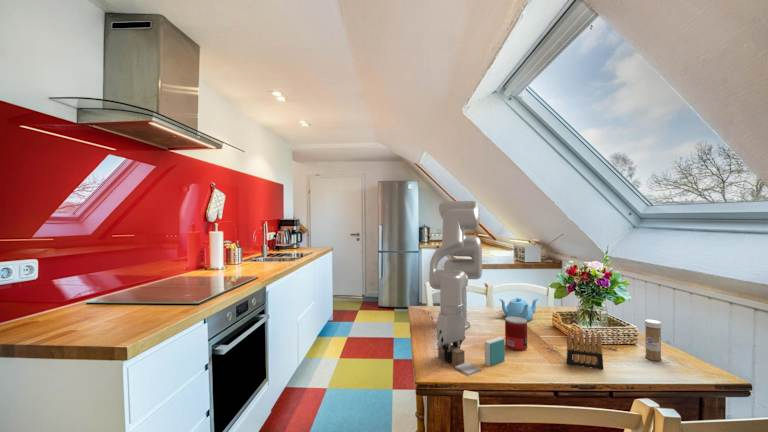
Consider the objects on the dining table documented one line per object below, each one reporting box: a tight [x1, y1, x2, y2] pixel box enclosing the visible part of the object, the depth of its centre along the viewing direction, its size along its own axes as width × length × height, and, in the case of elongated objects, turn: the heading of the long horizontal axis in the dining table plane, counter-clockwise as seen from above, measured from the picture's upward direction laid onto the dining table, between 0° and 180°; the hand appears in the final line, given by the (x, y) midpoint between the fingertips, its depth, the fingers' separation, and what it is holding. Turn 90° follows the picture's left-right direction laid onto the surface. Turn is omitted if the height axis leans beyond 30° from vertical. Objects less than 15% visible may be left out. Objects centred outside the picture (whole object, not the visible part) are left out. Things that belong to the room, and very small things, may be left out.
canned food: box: [504, 316, 528, 352], centre depth 130 cm, size 8×8×11 cm
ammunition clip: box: [566, 329, 604, 370], centre depth 114 cm, size 11×2×12 cm, turn 69°
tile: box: [484, 336, 506, 367], centre depth 117 cm, size 2×8×8 cm, turn 123°
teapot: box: [498, 297, 539, 322], centre depth 167 cm, size 15×15×10 cm
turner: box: [437, 344, 482, 376], centre depth 116 cm, size 16×6×5 cm, turn 33°
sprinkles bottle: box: [644, 319, 662, 362], centre depth 119 cm, size 5×5×14 cm
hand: (451, 360), depth 118 cm, fingers closed on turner, 2 cm apart
